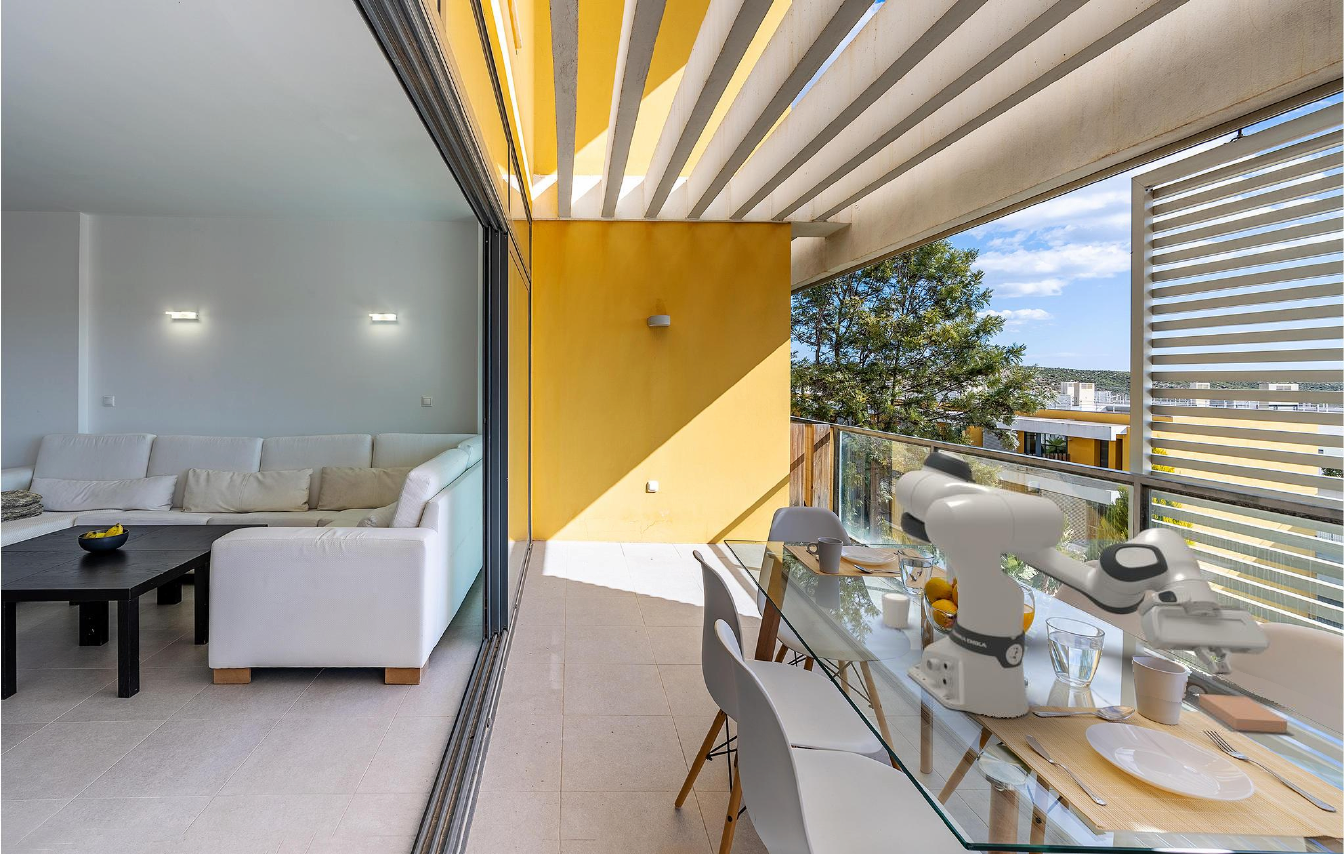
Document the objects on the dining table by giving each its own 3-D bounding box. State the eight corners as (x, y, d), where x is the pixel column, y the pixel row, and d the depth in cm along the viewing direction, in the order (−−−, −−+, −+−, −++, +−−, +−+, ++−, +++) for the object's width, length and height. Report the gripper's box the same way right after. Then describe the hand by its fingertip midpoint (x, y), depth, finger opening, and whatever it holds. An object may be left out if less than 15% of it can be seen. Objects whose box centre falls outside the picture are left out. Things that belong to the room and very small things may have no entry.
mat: (1173, 695, 125) (1173, 691, 125) (1228, 698, 125) (1228, 694, 125) (1230, 735, 111) (1231, 731, 111) (1294, 739, 110) (1294, 734, 110)
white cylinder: (906, 631, 157) (907, 602, 156) (877, 625, 161) (878, 597, 160) (912, 622, 163) (913, 595, 162) (884, 617, 166) (885, 590, 166)
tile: (1199, 693, 120) (1236, 718, 111) (1245, 696, 119) (1287, 721, 110) (1198, 705, 120) (1236, 730, 111) (1244, 707, 120) (1286, 733, 111)
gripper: (1236, 613, 131) (1271, 682, 122) (1128, 608, 133) (1155, 676, 124) (1255, 598, 126) (1294, 670, 117) (1143, 593, 128) (1173, 663, 119)
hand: (1222, 673), depth 121 cm, fingers closed
